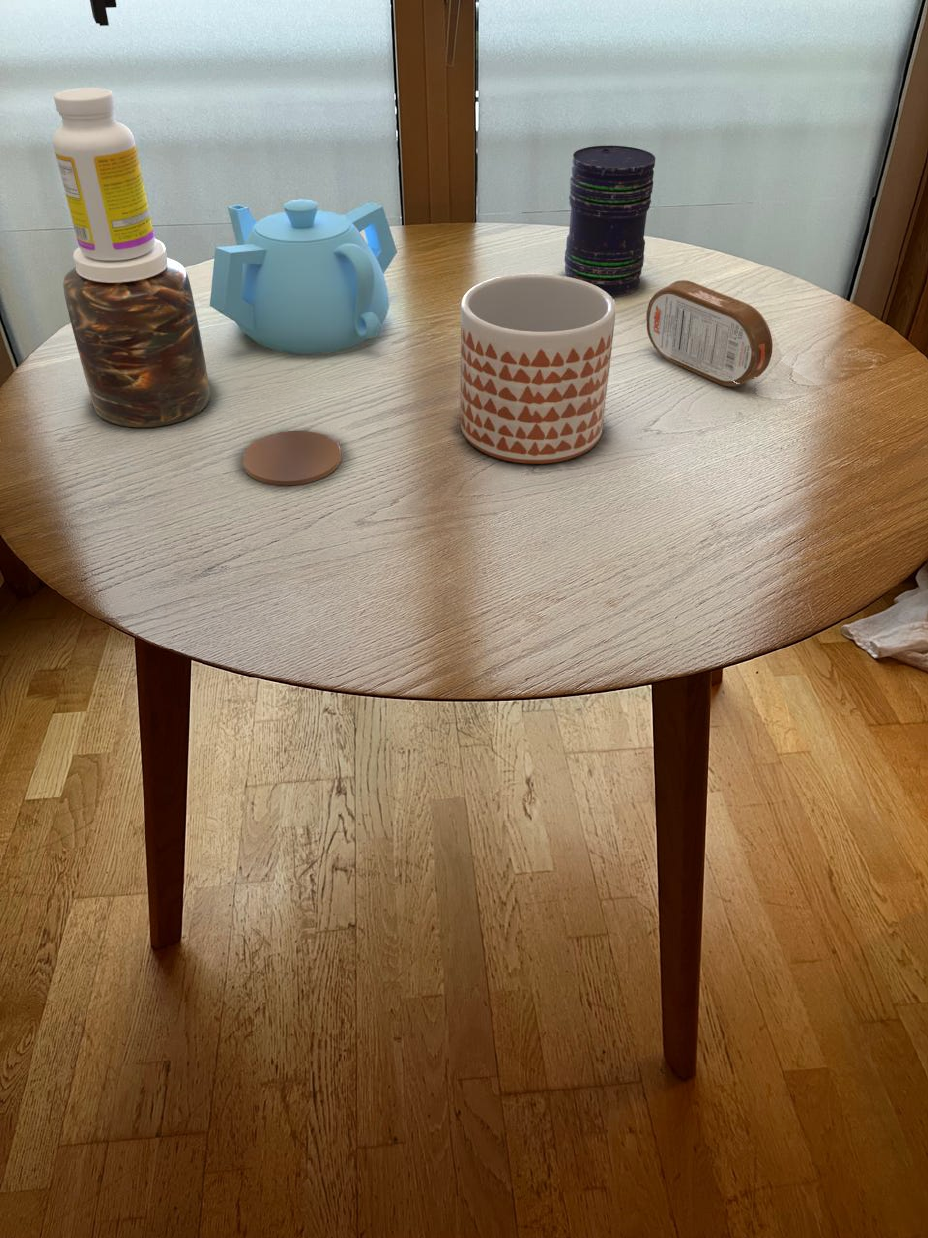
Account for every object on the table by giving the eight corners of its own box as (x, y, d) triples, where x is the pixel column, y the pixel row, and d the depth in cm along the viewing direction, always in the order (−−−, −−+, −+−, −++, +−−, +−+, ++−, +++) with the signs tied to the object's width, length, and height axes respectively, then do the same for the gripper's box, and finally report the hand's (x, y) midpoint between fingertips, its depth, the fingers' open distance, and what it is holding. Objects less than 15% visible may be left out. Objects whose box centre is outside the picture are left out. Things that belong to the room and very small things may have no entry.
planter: (499, 385, 100) (503, 262, 92) (622, 416, 95) (638, 289, 87) (434, 443, 91) (432, 313, 83) (567, 480, 86) (579, 346, 78)
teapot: (399, 296, 118) (394, 177, 109) (387, 366, 103) (379, 235, 94) (244, 295, 118) (225, 176, 109) (210, 365, 104) (185, 234, 95)
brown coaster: (252, 493, 84) (251, 488, 84) (235, 444, 91) (234, 439, 90) (352, 475, 86) (351, 470, 86) (328, 428, 93) (328, 424, 93)
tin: (765, 391, 99) (783, 312, 94) (746, 400, 98) (763, 321, 92) (655, 343, 108) (666, 268, 103) (636, 351, 107) (646, 275, 101)
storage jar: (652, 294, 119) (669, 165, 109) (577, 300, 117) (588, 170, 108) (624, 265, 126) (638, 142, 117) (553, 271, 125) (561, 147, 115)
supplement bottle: (166, 239, 90) (137, 85, 81) (141, 265, 85) (107, 103, 76) (97, 236, 90) (61, 82, 82) (68, 261, 85) (26, 100, 77)
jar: (229, 379, 101) (205, 233, 91) (184, 433, 92) (152, 278, 82) (124, 369, 102) (89, 225, 93) (70, 422, 94) (26, 268, 84)
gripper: (-303, -410, 42) (-149, 42, 53) (109, -380, 47) (172, 29, 58) (-269, -384, 47) (-135, 22, 58) (97, -359, 52) (157, 11, 63)
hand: (18, 25), depth 58 cm, fingers open, 9 cm apart
